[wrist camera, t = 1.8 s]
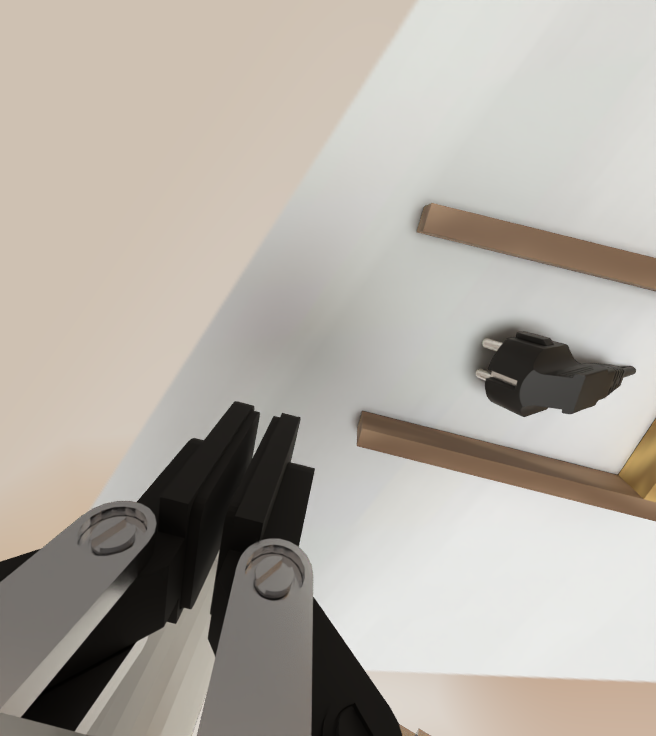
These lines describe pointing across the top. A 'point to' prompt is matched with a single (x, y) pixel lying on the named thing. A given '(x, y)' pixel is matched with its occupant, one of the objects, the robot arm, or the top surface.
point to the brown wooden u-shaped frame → (558, 478)
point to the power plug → (545, 376)
